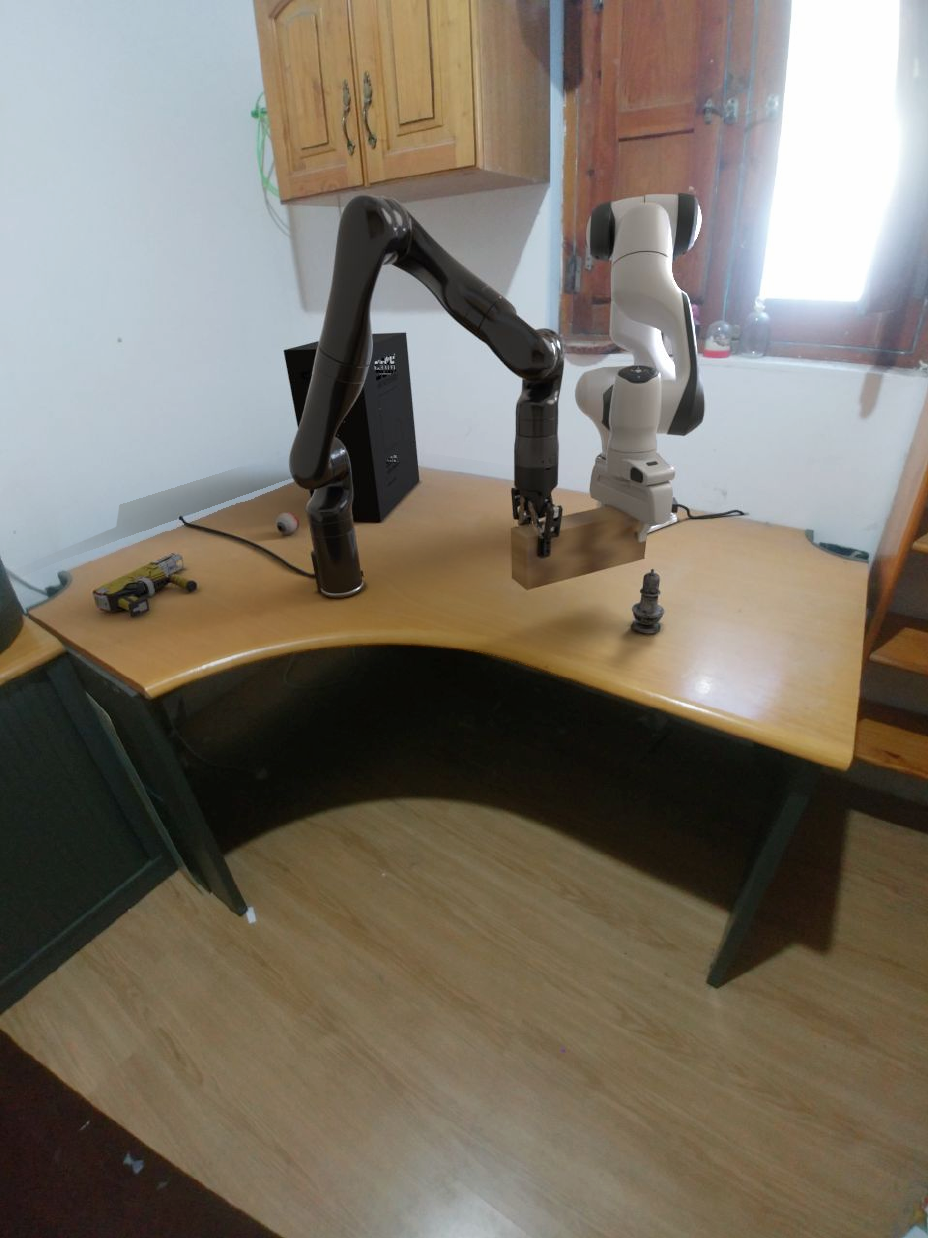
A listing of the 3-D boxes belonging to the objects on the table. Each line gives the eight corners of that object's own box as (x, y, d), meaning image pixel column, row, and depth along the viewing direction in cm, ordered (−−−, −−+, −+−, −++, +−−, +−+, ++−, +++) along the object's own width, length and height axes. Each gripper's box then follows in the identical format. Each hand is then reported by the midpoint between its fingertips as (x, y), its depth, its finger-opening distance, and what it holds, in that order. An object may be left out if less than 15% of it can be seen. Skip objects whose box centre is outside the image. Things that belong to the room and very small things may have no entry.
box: (625, 548, 124) (630, 500, 119) (644, 558, 119) (649, 509, 114) (511, 578, 115) (510, 527, 110) (526, 590, 110) (526, 538, 105)
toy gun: (221, 561, 143) (169, 550, 147) (142, 604, 123) (85, 590, 127) (223, 579, 146) (173, 568, 149) (147, 624, 125) (91, 610, 129)
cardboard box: (380, 521, 169) (358, 347, 147) (314, 519, 174) (283, 350, 151) (419, 480, 201) (406, 332, 178) (362, 479, 205) (342, 334, 183)
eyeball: (273, 537, 164) (268, 516, 161) (287, 528, 169) (282, 508, 166) (291, 539, 161) (286, 518, 158) (305, 530, 166) (301, 510, 163)
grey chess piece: (663, 635, 111) (671, 576, 105) (630, 633, 112) (636, 575, 106) (661, 619, 116) (668, 562, 110) (629, 617, 117) (635, 561, 111)
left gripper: (497, 453, 107) (498, 541, 115) (539, 473, 95) (537, 569, 104) (533, 447, 109) (532, 533, 118) (578, 465, 98) (574, 560, 106)
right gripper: (583, 452, 118) (580, 519, 125) (653, 478, 102) (645, 553, 109) (610, 447, 120) (605, 513, 127) (682, 472, 104) (672, 546, 111)
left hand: (534, 550), depth 111 cm, fingers closed on box, 6 cm apart
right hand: (624, 532), depth 118 cm, fingers open, 8 cm apart
